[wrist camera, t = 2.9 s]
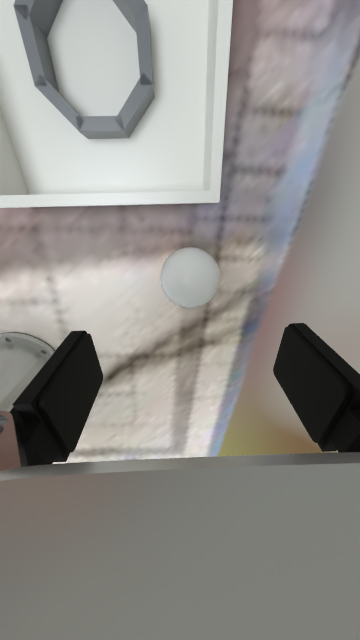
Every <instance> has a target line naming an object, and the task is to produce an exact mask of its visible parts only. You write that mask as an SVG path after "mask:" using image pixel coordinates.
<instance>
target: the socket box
mask: <svg viewBox="0 0 360 640" xmlns="http://www.w3.org/2000/svg"><path fill="white" fill-rule="evenodd" d="M232 7H233V0H0V208H25V207H69V206H111V205H154V204H196V203H219V201H220V186H221V171H222V156H223V141H224V126H225V111H226V96H227V82H228V67H229V52H230V37H231V22H232Z"/></svg>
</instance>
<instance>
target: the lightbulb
mask: <svg viewBox="0 0 360 640" xmlns="http://www.w3.org/2000/svg"><path fill="white" fill-rule="evenodd" d="M160 281H161V286H162V289H163V291H164V293H165V295H166V296H167V298H168V299H169V300H170V301H172V302H173V303H174V304H176V305H178V306H180V307H184V308H196V307H199V306H202V305H204V304H206V303H207V302H208V301H210V300H211V299H212V298H213V296H214V295H215V294H216V292H217V290H218V287H219V283H220V271H219V267H218V265H217V263H216V261H215V260H214V258H213V257H212V256H211V255H210V254H209V253H207V252H206V251H204V250H202V249H200V248H196V247H186V248H181V249H179V250H177V251H175V252H173V253H172V254H171V255H170V256H169V257H168V258H167V259H166V261H165V262H164V264H163V267H162V270H161V275H160Z"/></svg>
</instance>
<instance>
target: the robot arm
mask: <svg viewBox="0 0 360 640" xmlns="http://www.w3.org/2000/svg"><path fill="white" fill-rule="evenodd" d="M273 371H274V375H275V377H276V379H277V380H278V382H279V384H280V385H281V387H282V389H283V390H284V392H285V394H286V396H287V397H288V399H289V401H290V403H291V404H292V406H293V408H294V410H295V411H296V413H297V414H298V416H299V418H300V420H301V422H302V423H303V425H304V427H305V428H306V430H307V432H308V433H309V435H310V437H311V439H312V440H313V441H314V442H315V443H318V445H319V447H320V448H321V450H322V451H323V452H324V451H336V450H338V452H339V453H303V454H276V455H275V454H274V455H247V456H246V455H245V456H219V457H194V458H169V459H145V460H123V461H101V462H81V463H65V464H52V463H53V462H66V461H67V458H68V456H69V454H70V452H73V451H74V450H75V448H76V445H77V443H78V440H79V438H80V435H81V433H82V430H83V428H84V426H85V423H86V421H87V418H88V416H89V413H90V411H91V408H92V406H93V403H94V401H95V398H96V396H97V393H98V391H99V389H100V386H101V384H102V381H103V373H102V370H101V367H100V364H99V360H98V357H97V354H96V351H95V347H94V344H93V341H92V337H91V335H90V334H87V332H86V331H72V332H70V334H69V335H68V336H67V337H66V339H65V340H64V341H63V342H62V344H61V345H60V346H59V347H58V348H57V350H56V351H54V350H53V349H52V348H51V347H50V346H48V345H47V344H46V343H44V342H42V341H41V340H39V339H37V338H34V337H32V336H29V335H25V334H20V333H4V334H0V640H360V374H359V373H358V372H357V371H355V370H354V369H353V368H352V367H351V366H350V365H349V364H348V363H347V362H346V361H345V360H344V359H342V358H341V357H340V356H339V355H338V354H337V353H336V352H335V351H334V350H333V349H332V348H331V347H329V346H328V345H327V344H326V343H325V342H324V341H323V340H322V339H321V338H320V337H319V336H317V335H316V334H315V333H314V332H313V331H312V330H311V329H310V328H309V327H308V326H307V325H306V324H304V323H294V324H290V325H289V326H288V327H286V328H285V330H284V333H283V337H282V340H281V344H280V347H279V351H278V354H277V358H276V361H275V365H274V369H273Z"/></svg>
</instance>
